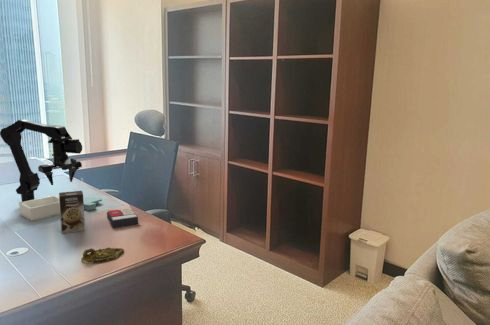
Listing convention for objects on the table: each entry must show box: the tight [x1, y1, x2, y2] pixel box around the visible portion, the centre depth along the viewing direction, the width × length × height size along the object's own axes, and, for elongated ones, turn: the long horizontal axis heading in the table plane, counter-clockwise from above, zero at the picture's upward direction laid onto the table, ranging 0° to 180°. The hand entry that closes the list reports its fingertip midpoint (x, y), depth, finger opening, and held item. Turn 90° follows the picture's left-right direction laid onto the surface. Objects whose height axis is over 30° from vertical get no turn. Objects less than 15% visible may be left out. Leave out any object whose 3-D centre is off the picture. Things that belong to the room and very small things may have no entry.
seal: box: [81, 247, 125, 264], centre depth 136 cm, size 9×5×15 cm
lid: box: [83, 195, 103, 211], centre depth 188 cm, size 17×16×2 cm
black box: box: [106, 207, 139, 229], centre depth 171 cm, size 11×4×15 cm
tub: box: [18, 195, 60, 222], centre depth 176 cm, size 12×16×6 cm
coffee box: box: [58, 190, 86, 234], centre depth 158 cm, size 9×6×16 cm
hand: (61, 183), depth 185 cm, fingers open, 9 cm apart
